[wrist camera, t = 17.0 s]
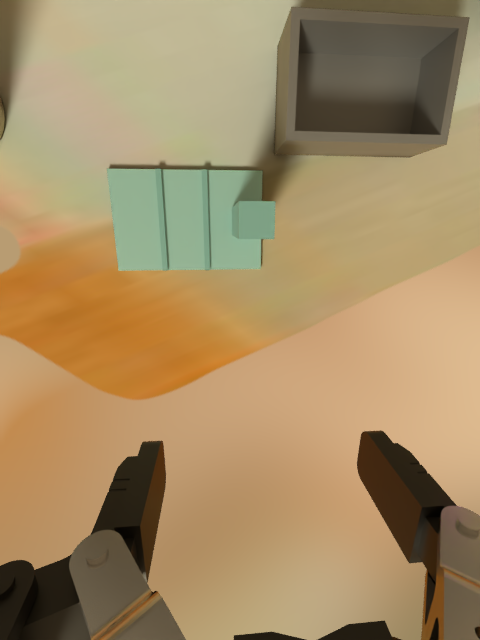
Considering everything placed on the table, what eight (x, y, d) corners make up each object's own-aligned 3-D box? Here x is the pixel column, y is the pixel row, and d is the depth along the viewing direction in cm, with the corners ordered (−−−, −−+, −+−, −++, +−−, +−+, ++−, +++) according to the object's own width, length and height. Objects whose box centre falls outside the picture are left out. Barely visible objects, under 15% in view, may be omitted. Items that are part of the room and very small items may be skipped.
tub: (274, 154, 35) (285, 140, 29) (277, 46, 32) (291, 6, 26) (409, 157, 36) (446, 144, 30) (425, 53, 33) (469, 17, 27)
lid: (120, 269, 37) (80, 288, 26) (109, 169, 34) (57, 142, 23) (259, 268, 39) (278, 285, 27) (261, 171, 35) (283, 146, 24)
